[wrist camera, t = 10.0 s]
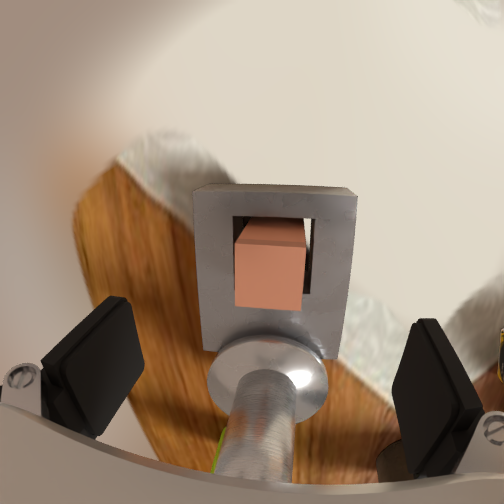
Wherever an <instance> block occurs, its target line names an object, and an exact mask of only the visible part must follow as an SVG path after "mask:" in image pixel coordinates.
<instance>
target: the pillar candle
mask: <svg viewBox="0 0 504 504" xmlns="http://www.w3.org/2000/svg"><path fill="white" fill-rule="evenodd" d="M376 467H377V473H378V481H379V483H387V482H398V481H407V480H414V477H413V474H410V473H409V472H408V469H407V463H406V458H405V452H404V447H403V442H402V440H400V441H397V442H395V443H393V444H391V445H390V446H388V447H387V448H386V449H385V450H384V451H383V452H382V453H381V454H380V455H379V456H378V458H377V460H376Z"/></svg>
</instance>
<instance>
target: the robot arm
mask: <svg viewBox="0 0 504 504" xmlns="http://www.w3.org/2000/svg"><path fill="white" fill-rule="evenodd" d="M41 363H42V365H43V367H44V368H43V369H42V370H41V371H40V369H39V367H38V366H36V365H35V364H32V363H22V364H19V365H16V366H15V367H13V368H11V369H10V370H9V371H8V372H7V373H6V375H5V377H4V380H3V385H2V386H0V504H504V412H500V411H491V412H488V413H486V414H485V412H484V410H483V408H482V407H483V405H482V403H481V401H480V399H479V397H478V395H477V393H476V391H475V389H474V387H473V385H472V383H471V381H470V379H469V377H468V375H467V373H466V371H465V369H464V367H463V365H462V363H461V362H460V360H459V358H458V356H457V354H456V352H455V351H454V349H453V347H452V345H451V343H450V342H449V340H448V338H447V337H446V335H445V333H444V331H443V330H442V328H441V326H440V325H439V323H438V321H437V320H436V319H434V318H431V319H430V318H425V319H424V318H423V319H422V318H421V319H418V321H417V323H413V324H412V326H411V329H410V333H409V336H408V339H407V343H406V346H405V349H404V352H403V355H402V358H401V362H400V365H399V367H398V370H397V373H396V376H395V379H394V382H393V385H392V397H393V401H394V405H395V409H396V414H397V418H398V423H399V427H400V432H401V437H402V442H403V447H404V452H405V458H406V463H407V469H408V472H409V473H410V474H413V477H414V480H407V481H398V482H387V483H372V484H352V485H311V484H291V483H278V482H267V481H258V480H249V479H242V478H235V477H229V476H223V475H217V474H212V473H206V472H202V471H197V470H192V469H188V468H183V467H179V466H175V465H171V464H167V463H164V462H160V461H156V460H153V459H149V458H146V457H142V456H139V455H136V454H133V453H130V452H127V451H124V450H121V449H118V448H115V447H112V446H109V445H107V444H104V443H102V442H99V441H96V440H95V439H96V437H97V436H100V435H102V434H103V432H104V431H105V429H106V428H107V426H108V424H109V423H110V421H111V420H112V418H113V417H114V415H115V414H116V412H117V410H118V409H119V407H120V406H121V404H122V403H123V401H124V400H125V398H126V397H127V395H128V393H129V392H130V390H131V389H132V387H133V386H134V384H135V383H136V381H137V380H138V378H139V377H140V375H141V374H142V372H143V370H144V364H145V363H144V359H143V355H142V351H141V346H140V342H139V338H138V334H137V329H136V325H135V320H134V316H133V311H132V306H131V304H130V303H129V302H128V301H127V299H126V298H124V297H117V296H109V297H108V298H107V299H105V300H104V301H103V302H102V303H101V304H100V305H99V306H98V307H97V308H95V309H94V310H93V311H92V312H91V313H90V314H89V315H88V316H87V317H86V318H85V319H83V321H82V322H80V323H79V324H78V325H77V326H76V327H75V328H74V329H73V330H72V331H71V332H70V333H69V334H67V335H66V337H64V338H63V339H62V340H61V341H60V342H59V343H58V344H57V345H56V346H55V347H54V348H53V349H52V350H51V351H50V352H49V353H48V354H47V355H46V356H45V357H44V358H43V359H42V360H41Z"/></svg>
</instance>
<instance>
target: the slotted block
mask: <svg viewBox="0 0 504 504" xmlns="http://www.w3.org/2000/svg"><path fill="white" fill-rule="evenodd" d="M357 197H358V196H356V195H355V194H354V193H353V192H352V191H350V190H349V189H348V188H342V187H324V186H302V185H270V184H208V185H206V186H204V187H201V188H199V189H197V190H195V191H193V216H194V236H195V253H196V269H197V283H198V296H199V308H200V320H201V330H202V341H203V350H205V351H214V352H218V354H217V355H216V356H215V358H214V360H213V362H212V365H211V367H210V370H209V372H208V377H207V386H208V390H209V393H210V396H211V397H212V399H213V401H214V402H215V403H216V405H217V406H218V407H219V408H220V409H221V410H222V411H224V412H225V413H226V414H228V415H229V419H228V423H227V427H226V430H225V434H224V438H223V441H222V445H221V449H220V452H219V456H218V460H217V463H216V467H215V470H214V474H217V475H223V476H229V477H235V478H242V479H249V480H258V481H267V482H278V483H291V484H292V470H293V455H294V439H295V424H297V423H300V422H302V421H304V420H306V419H308V418H309V417H311V416H312V415H314V414H315V413H316V412H317V411H318V410H319V409H320V408H321V407H322V405H323V404H324V402H325V400H326V397H327V394H328V380H327V372H326V368H325V366H324V364H323V362H322V361H321V359H337V357H338V352H339V346H340V341H341V335H342V329H343V323H344V316H345V310H346V303H347V296H348V289H349V281H350V273H351V264H352V255H353V246H354V236H355V223H356V212H357ZM243 216H259V217H288V218H311V235H310V252H309V267H308V271H304V281H303V292H302V303H301V311H292V310H277V309H264V308H251V307H240V306H235V242H236V241H237V239H238V238H239V236H240V234H241V233H242V231H243Z"/></svg>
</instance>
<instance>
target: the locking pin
mask: <svg viewBox="0 0 504 504" xmlns="http://www.w3.org/2000/svg"><path fill="white" fill-rule="evenodd" d="M305 258H306V239H305V230H304V219H303V218H288V217H259V216H252V217H251V219H250V220H249V222H248V223H247V225H246V227H245V228H244V230H243V231H242V233H241V234H240V236H239V238H238V239H237V241H236V242H235V306H240V307H251V308H264V309H277V310H292V311H301V303H302V292H303V281H304V270H305Z"/></svg>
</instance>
